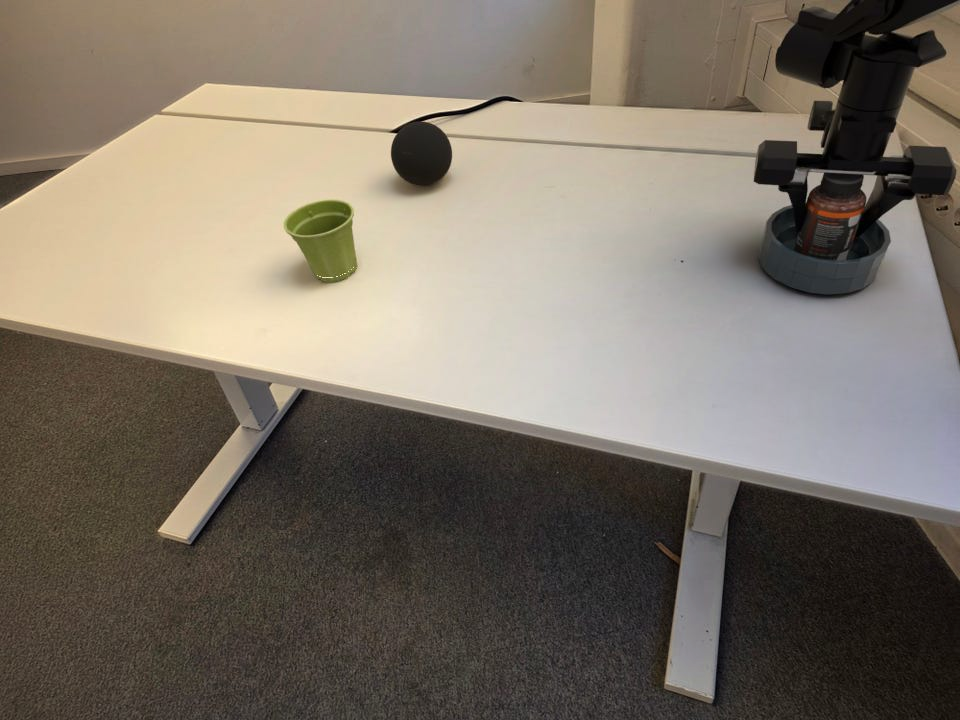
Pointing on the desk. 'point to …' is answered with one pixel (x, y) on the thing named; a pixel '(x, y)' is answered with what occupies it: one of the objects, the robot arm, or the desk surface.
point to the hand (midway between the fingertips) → (826, 232)
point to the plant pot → (325, 237)
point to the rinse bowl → (820, 272)
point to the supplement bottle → (832, 217)
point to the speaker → (421, 153)
